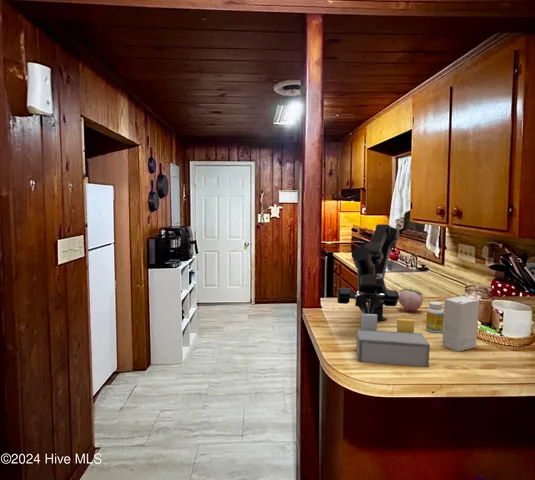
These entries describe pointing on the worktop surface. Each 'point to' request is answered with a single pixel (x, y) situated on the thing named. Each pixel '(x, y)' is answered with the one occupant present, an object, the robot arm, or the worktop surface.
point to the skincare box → (460, 323)
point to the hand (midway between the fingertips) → (368, 320)
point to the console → (392, 348)
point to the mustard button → (405, 325)
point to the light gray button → (369, 322)
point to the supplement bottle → (435, 317)
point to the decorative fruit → (410, 299)
